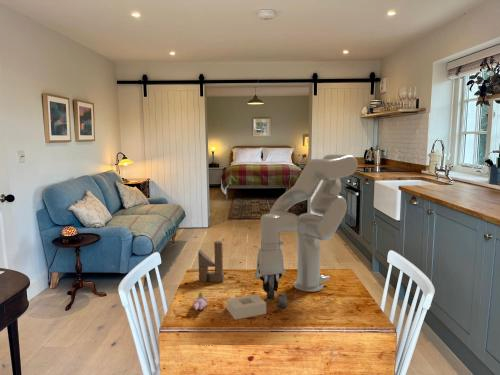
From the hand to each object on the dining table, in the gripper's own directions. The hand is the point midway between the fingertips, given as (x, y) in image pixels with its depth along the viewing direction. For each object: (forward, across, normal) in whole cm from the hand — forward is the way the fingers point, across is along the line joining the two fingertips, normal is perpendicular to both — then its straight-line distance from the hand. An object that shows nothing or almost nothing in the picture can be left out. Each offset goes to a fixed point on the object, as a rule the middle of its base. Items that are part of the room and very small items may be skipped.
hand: (270, 290), depth 150 cm
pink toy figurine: (+4, +28, -2) cm, 28 cm away
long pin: (+3, 0, 0) cm, 3 cm away
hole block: (+3, +13, +8) cm, 15 cm away
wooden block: (+4, +17, -27) cm, 32 cm away
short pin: (+3, -1, +9) cm, 10 cm away
